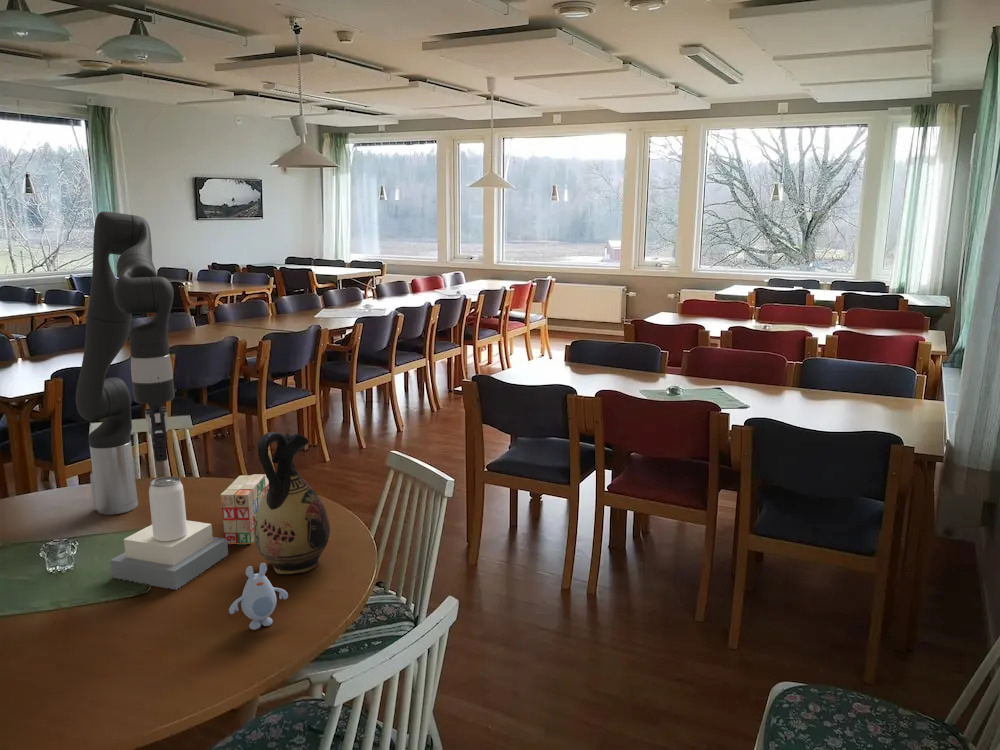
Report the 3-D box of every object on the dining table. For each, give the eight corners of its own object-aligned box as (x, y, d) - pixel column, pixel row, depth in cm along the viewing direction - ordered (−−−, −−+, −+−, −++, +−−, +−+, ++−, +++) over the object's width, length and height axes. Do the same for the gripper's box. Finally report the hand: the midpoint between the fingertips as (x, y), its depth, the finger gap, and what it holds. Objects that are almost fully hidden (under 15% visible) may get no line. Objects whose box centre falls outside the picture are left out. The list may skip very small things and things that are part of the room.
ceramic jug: (294, 543, 173) (285, 415, 167) (346, 558, 166) (339, 425, 159) (234, 574, 159) (222, 435, 153) (288, 592, 152) (279, 447, 145)
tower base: (112, 578, 158) (108, 541, 156) (168, 545, 172) (165, 512, 171) (176, 590, 153) (172, 552, 151) (228, 555, 167) (225, 521, 166)
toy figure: (235, 642, 134) (230, 579, 132) (226, 626, 139) (221, 565, 137) (295, 624, 140) (291, 563, 137) (284, 609, 145) (280, 551, 142)
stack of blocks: (255, 508, 194) (252, 462, 191) (280, 508, 194) (277, 462, 191) (224, 545, 173) (219, 493, 170) (252, 545, 173) (247, 493, 170)
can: (193, 535, 159) (188, 480, 156) (162, 545, 154) (157, 489, 151) (178, 526, 163) (173, 473, 160) (147, 536, 158) (142, 481, 155)
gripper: (175, 382, 149) (182, 462, 152) (170, 368, 161) (177, 442, 165) (132, 386, 146) (141, 467, 149) (131, 372, 158) (138, 447, 162)
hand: (160, 454), depth 157 cm, fingers open, 8 cm apart
